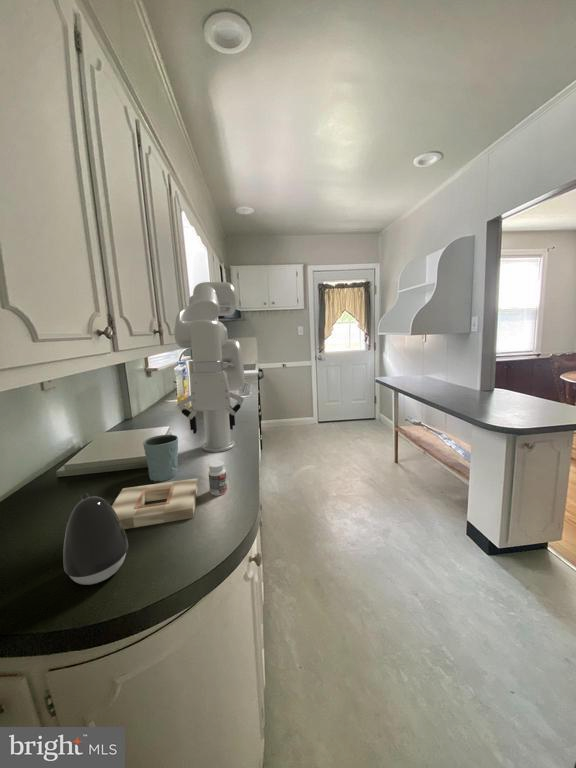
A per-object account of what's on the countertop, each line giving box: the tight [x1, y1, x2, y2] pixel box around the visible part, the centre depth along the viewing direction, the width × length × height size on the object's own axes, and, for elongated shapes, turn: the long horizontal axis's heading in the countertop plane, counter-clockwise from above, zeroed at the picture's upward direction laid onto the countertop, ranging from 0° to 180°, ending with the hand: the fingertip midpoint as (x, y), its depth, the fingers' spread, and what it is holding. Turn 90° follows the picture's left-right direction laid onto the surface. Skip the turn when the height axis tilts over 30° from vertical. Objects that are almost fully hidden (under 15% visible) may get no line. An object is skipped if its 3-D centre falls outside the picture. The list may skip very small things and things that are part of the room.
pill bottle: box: [208, 460, 228, 497], centre depth 84 cm, size 5×5×8 cm
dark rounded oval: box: [62, 492, 129, 586], centre depth 56 cm, size 10×10×15 cm
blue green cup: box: [142, 434, 179, 482], centre depth 96 cm, size 10×10×12 cm
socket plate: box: [111, 477, 199, 530], centre depth 78 cm, size 16×20×3 cm
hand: (213, 430), depth 82 cm, fingers open, 9 cm apart
